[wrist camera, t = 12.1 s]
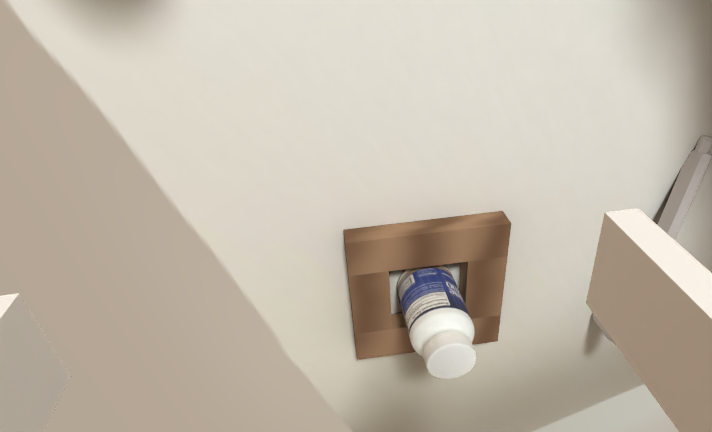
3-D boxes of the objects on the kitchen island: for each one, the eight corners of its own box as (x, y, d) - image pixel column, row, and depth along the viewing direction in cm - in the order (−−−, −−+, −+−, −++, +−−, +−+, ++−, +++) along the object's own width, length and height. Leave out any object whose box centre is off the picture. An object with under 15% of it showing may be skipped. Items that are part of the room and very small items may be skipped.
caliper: (597, 314, 51) (633, 361, 46) (588, 314, 51) (623, 360, 46) (709, 135, 41) (770, 169, 36) (698, 133, 41) (758, 167, 35)
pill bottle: (457, 293, 47) (491, 373, 39) (404, 310, 48) (427, 393, 39) (445, 251, 44) (479, 329, 36) (389, 270, 45) (409, 350, 36)
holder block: (502, 210, 42) (511, 223, 41) (490, 326, 50) (497, 341, 48) (343, 229, 42) (345, 243, 40) (355, 344, 49) (357, 359, 48)
